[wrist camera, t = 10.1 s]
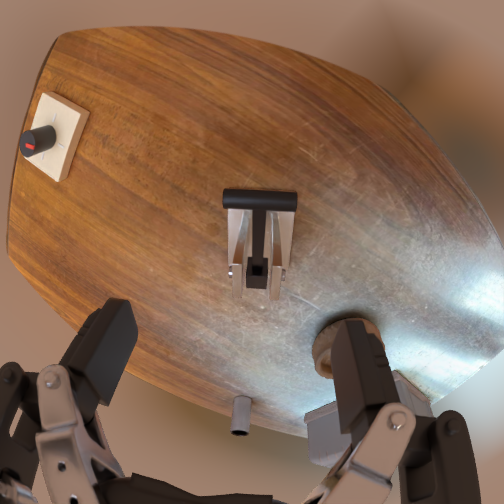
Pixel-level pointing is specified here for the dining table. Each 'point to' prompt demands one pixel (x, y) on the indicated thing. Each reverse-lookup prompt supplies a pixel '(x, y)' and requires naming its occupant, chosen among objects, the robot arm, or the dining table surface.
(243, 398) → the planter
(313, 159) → the dining table surface
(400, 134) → the dining table surface
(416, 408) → the toaster
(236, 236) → the bracket
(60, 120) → the dial panel
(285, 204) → the lever
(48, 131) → the dial
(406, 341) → the dining table surface
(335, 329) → the bowl
